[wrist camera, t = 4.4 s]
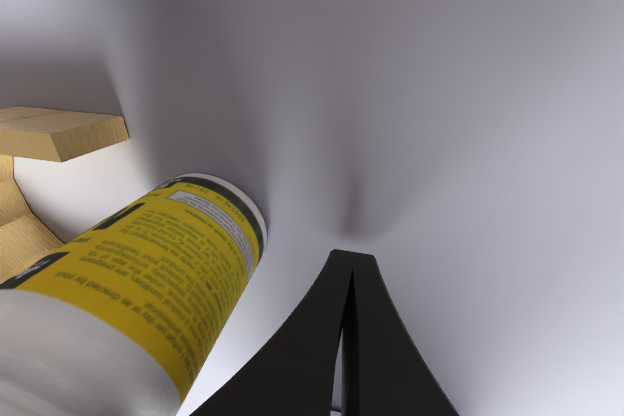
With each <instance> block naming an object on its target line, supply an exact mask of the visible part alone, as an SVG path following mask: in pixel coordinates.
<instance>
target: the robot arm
mask: <svg viewBox="0 0 624 416" xmlns="http://www.w3.org/2000/svg"><path fill="white" fill-rule="evenodd" d="M342 328H343V332H342ZM341 333H342V406H341V413H340V412H335V411H331V404H332V394H333V383H334V373H335V363H336V357H337V353H338V348H339V343H340V338H341ZM189 416H459V414H458V413H457V411H456V410H455V408H454V407H453V405H452V404H451V402H450V401H449V399H448V398H447V396H446V395H445V393H444V392H443V390H442V389H441V387H440V386H439V384H438V383H437V381H436V379H435V378H434V376H433V375H432V373H431V372H430V370H429V368H428V367H427V365H426V363H425V362H424V360H423V358H422V357H421V355H420V353H419V352H418V350H417V348H416V346H415V345H414V343H413V341H412V339H411V337H410V335H409V334H408V332H407V330H406V328H405V326H404V324H403V322H402V320H401V318H400V317H399V314H398V312H397V310H396V308H395V306H394V304H393V302H392V300H391V298H390V295H389V293H388V291H387V289H386V286H385V284H384V281H383V279H382V276H381V274H380V271H379V268H378V265H377V262H376V258H375V257H374V256H373V255H369V254H363V253H356V252H350V251H344V250H337V249H334V250H332V251H331V252H330V255H329V257H328V259H327V261H326V263H325V265H324V267H323V269H322V271H321V272H320V274H319V276H318V277H317V279H316V280H315V282H314V283H313V285H312V286H311V288H310V289H309V291H308V292H307V294H306V295H305V297H304V298H303V299H302V301H301V302H300V303H299V304H298V306H297V307H296V308H295V310H294V311H293V312H292V313H291V315H290V316H289V317H288V319H287V320H286V321H285V322H284V323H283V325H282V326H281V327H280V328H279V329H278V330H277V331H276V333H275V334H274V335H273V336H272V337H271V338H270V339H269V340H268V341H267V343H266V344H265V345H264V346H263V347H262V348H261V349H260V350H259V351H258V352H257V353H256V354H255V355H254V356H253V357H252V358H251V359H250V360H249V361H248V362H247V363H246V364H245V365H244V366H243V367H242V368H241V369H240V370H239V371H238V372H237V373H236V374H235V375H234V376H233V377H232V378H231V379H230V380H229V381H228V382H227V383H225V384H224V385H223V386H222V387H221V388H220V389H219V390H218V391H216V392H215V393H214V394H213V395H212V396H211V397H210V398H209V399H207V400H206V401H205V402H204V403H203V404H202V405H201V406H199V407H198V408H197V409H196V410H195V411H194V412H193V413H192V414H190V415H189Z"/></svg>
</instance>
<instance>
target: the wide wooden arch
mask: <svg viewBox="0 0 624 416" xmlns="http://www.w3.org/2000/svg"><path fill="white" fill-rule="evenodd" d="M128 139H129V136H128V133H127V129H126V126H125V123H124V119H123V116H115V115H105V114H95V113H85V112H75V111H65V110H55V109H45V108H35V107H24V106H19V107H12V108H5V109H0V284H1V283H3V282H4V281H6V280H8V279H10V278H11V277H13V276H15V275H16V274H18V273H20V272H22V271H23V270H25V269H27V268H28V267H30V266H31V265H33V264H34V263H36V262H37V261H38V260H40V259H41V258H43V257H45V256H47V255H49V254H50V253H52V252H54V251H55V250H57V249H58V248H60V247H62V246H63V245H65V243H63V242H61V241H60V240H59V239H58V238H57V237H56V236H55V235H54V234H53V233H52V232H51V231H50V230H49V229H48V228H47V227H46V226H45V225H44V224H43V223H42V222H41V221H40V220H39V219H38V218H37V217H36V216H35V215H34V214H33V213H32V212H31V210H30V209H29V207H28V205H27V203H26V201H25V199H24V197H23V196H22V194H21V192H20V190H19V188H18V186H17V185H16V183H15V181H14V179H13V156H16V157H23V158H31V159H39V160H47V161H54V162H64V161H67V160H70V159H73V158H76V157H79V156H82V155H85V154H88V153H91V152H93V151H96V150H99V149H102V148H105V147H108V146H111V145H114V144H117V143H120V142H123V141H125V140H128Z"/></svg>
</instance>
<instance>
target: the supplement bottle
mask: <svg viewBox="0 0 624 416" xmlns="http://www.w3.org/2000/svg"><path fill="white" fill-rule="evenodd" d="M266 243H267V231H266V226H265V223H264V220H263V217H262V215H261V213H260V211H259V210H258V208H257V207H256V205H255V204H254V203H253V201H252V200H251V199H250V198H249V197H248V196H247V195H246V194H245V193H244V192H242V191H241V190H240V189H238V188H237V187H236V186H234V185H232V184H231V183H229V182H227V181H225V180H223V179H221V178H218V177H215V176H211V175H207V174H200V173H190V174H184V175H180V176H177V177H175V178H172V179H171V180H169V181H167V182H165V183H163V184H162V185H160V186H158V187H157V188H155V189H154V190H152V191H151V192H149V193H148V194H146V195H144V196H143V197H141V198H140V199H138V200H136V201H134V202H133V203H131V204H130V205H128V206H126V207H125V208H123V209H122V210H120V211H118V212H117V213H115V214H114V215H112V216H110V217H108V218H106V219H104V220H103V221H101V222H100V223H99V224H97V225H95V226H94V227H92V228H91V229H89V230H88V231H86V232H84V233H83V234H82V235H80V236H78V237H77V238H75V239H73V240H72V241H70V242H68V243H67V244H65V245H63V246H62V247H60V248H58V249H57V250H55V251H54V252H52V253H50V254H49V255H47V256H45V257H43V258H41V259H40V260H38V261H37V262H36V263H34V264H33V265H31V266H30V267H28V268H27V269H25V270H23V271H22V272H20V273H18V274H16V275H15V276H13V277H11V278H10V279H8V280H6V281H4V282H3V283H1V284H0V416H176V414H177V412H178V411H179V409H180V407H181V405H182V404H183V402H184V400H185V398H186V396H187V394H188V393H189V391H190V389H191V387H192V385H193V383H194V381H195V379H196V378H197V376H198V374H199V372H200V370H201V368H202V366H203V365H204V363H205V361H206V359H207V357H208V355H209V353H210V352H211V350H212V348H213V346H214V344H215V342H216V340H217V339H218V337H219V335H220V333H221V331H222V329H223V328H224V326H225V324H226V322H227V320H228V318H229V316H230V315H231V313H232V311H233V309H234V307H235V306H236V304H237V302H238V300H239V298H240V296H241V295H242V293H243V291H244V289H245V287H246V285H247V284H248V282H249V280H250V278H251V276H252V275H253V273H254V271H255V269H256V267H257V266H258V264H259V262H260V260H261V258H262V256H263V254H264V251H265V248H266Z"/></svg>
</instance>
